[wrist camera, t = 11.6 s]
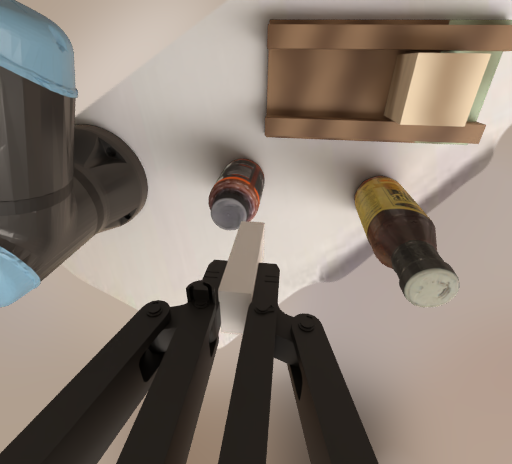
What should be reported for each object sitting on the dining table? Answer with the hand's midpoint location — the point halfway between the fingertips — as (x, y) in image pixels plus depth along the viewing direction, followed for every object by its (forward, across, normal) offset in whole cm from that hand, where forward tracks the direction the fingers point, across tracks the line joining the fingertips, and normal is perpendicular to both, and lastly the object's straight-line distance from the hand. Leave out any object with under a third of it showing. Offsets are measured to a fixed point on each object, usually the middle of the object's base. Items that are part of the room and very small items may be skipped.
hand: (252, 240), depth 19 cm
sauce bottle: (+23, +14, -5) cm, 27 cm away
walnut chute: (+22, +11, +8) cm, 26 cm away
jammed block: (+21, +16, +8) cm, 28 cm away
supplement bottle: (+23, -4, -4) cm, 23 cm away
